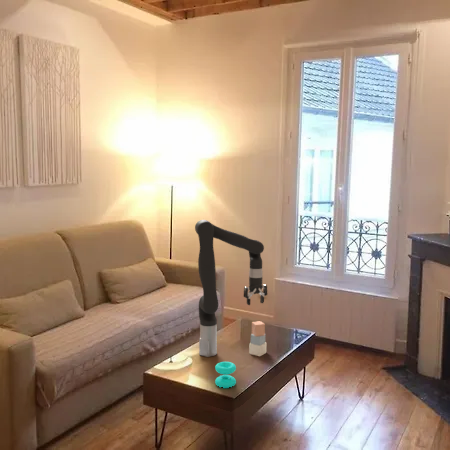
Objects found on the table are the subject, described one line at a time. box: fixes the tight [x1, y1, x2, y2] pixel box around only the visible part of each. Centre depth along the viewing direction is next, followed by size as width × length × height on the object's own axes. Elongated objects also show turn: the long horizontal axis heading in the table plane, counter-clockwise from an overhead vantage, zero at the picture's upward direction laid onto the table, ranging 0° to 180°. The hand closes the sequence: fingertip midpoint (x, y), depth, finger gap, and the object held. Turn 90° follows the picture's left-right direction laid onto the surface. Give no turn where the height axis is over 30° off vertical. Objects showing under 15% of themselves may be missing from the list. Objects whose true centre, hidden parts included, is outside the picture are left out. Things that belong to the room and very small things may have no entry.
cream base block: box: [248, 341, 268, 357], centre depth 275 cm, size 7×7×6 cm
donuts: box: [214, 361, 237, 389], centre depth 235 cm, size 10×10×10 cm
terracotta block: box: [251, 320, 266, 336], centre depth 274 cm, size 6×6×6 cm
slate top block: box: [250, 333, 267, 346], centre depth 274 cm, size 6×6×5 cm
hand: (255, 303), depth 277 cm, fingers open, 8 cm apart
